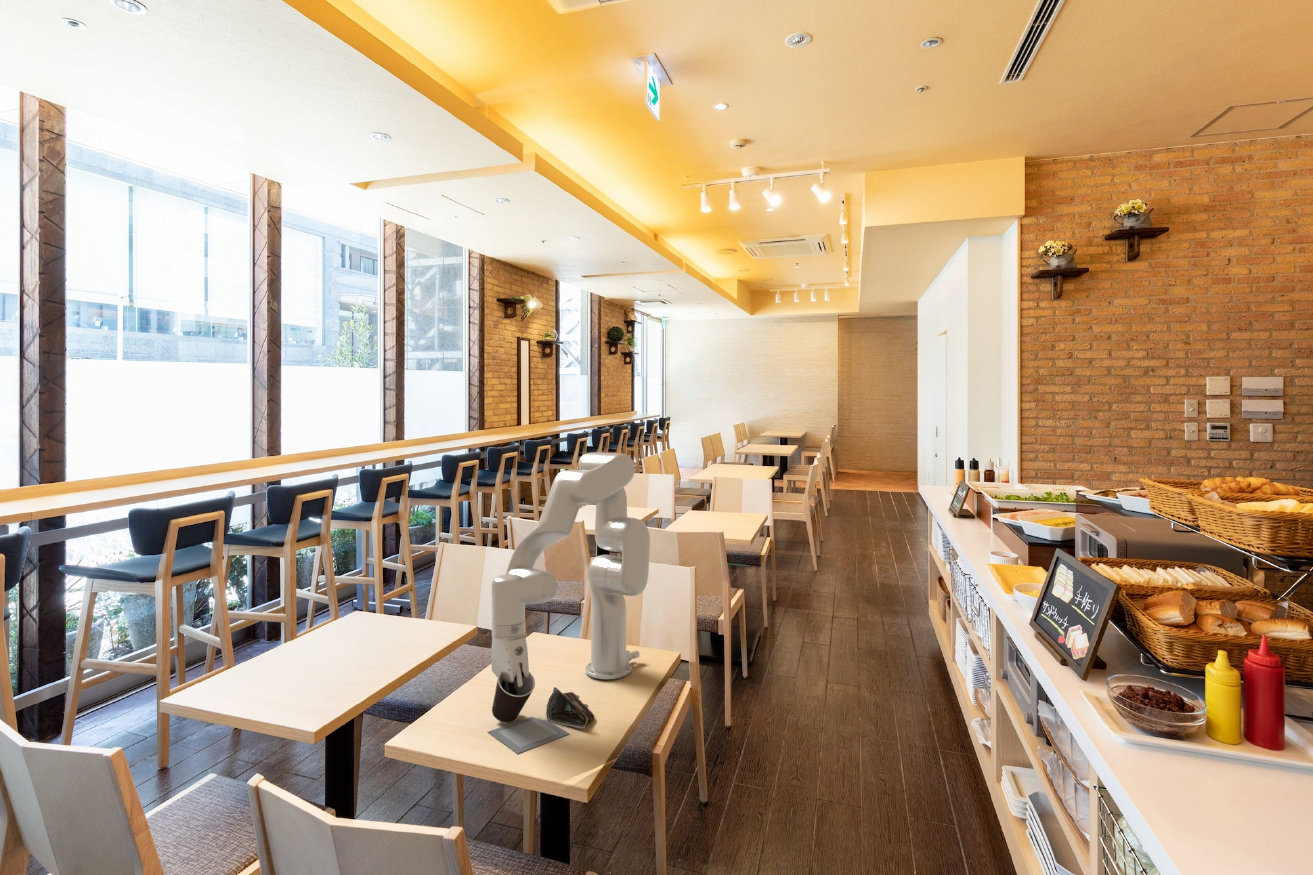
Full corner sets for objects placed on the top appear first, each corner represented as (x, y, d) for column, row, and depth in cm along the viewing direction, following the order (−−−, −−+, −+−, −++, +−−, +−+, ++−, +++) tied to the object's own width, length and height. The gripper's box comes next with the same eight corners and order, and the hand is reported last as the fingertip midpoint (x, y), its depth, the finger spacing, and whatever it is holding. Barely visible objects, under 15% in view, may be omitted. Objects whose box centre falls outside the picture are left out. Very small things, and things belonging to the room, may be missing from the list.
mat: (537, 714, 151) (537, 714, 151) (569, 734, 142) (569, 733, 142) (487, 732, 142) (487, 731, 142) (517, 754, 133) (517, 753, 133)
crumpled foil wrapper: (607, 718, 148) (582, 675, 154) (589, 722, 142) (564, 676, 148) (580, 744, 149) (557, 700, 156) (562, 749, 144) (538, 702, 150)
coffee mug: (506, 733, 145) (518, 703, 141) (479, 709, 147) (489, 679, 143) (538, 704, 155) (550, 675, 151) (512, 682, 157) (523, 653, 153)
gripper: (539, 633, 145) (539, 712, 146) (507, 618, 157) (507, 692, 157) (509, 640, 140) (510, 723, 141) (478, 624, 151) (479, 701, 152)
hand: (508, 706), depth 149 cm, fingers closed
